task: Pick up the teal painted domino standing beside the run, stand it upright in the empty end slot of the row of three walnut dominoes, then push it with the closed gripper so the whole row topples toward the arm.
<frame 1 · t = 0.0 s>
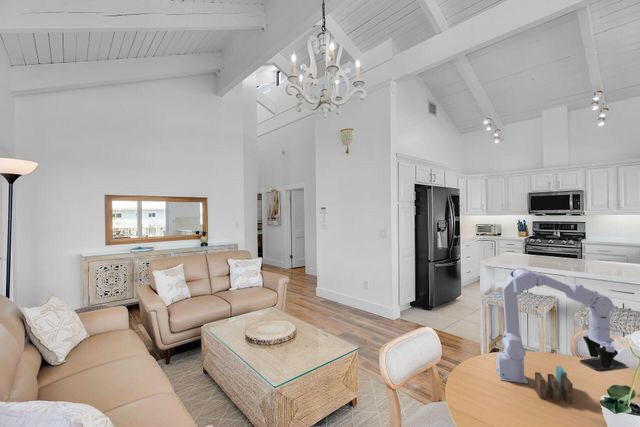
hand: (599, 361, 112), 10 cm above the table, tool pointing down, fingers open, 7 cm apart
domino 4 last: (540, 394, 110), on the table
phone: (602, 365, 128), on the table
domino 3: (553, 396, 109), on the table
domino 2: (566, 398, 108), on the table
domino teal placed: (561, 387, 114), on the table
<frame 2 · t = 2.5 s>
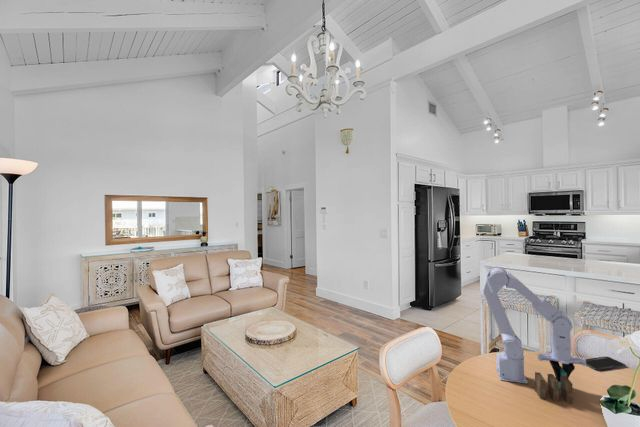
hand: (561, 380, 114), 3 cm above the table, tool pointing down, fingers closed on domino teal placed, 2 cm apart
domino teal placed: (561, 387, 114), on the table, touching gripper
everything else where it was.
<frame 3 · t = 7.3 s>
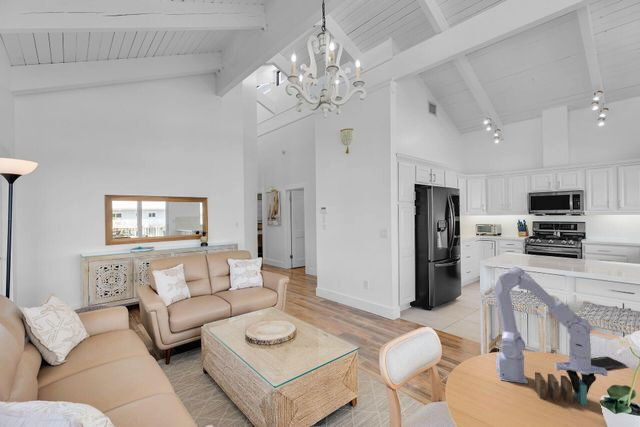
hand: (580, 391, 106), 3 cm above the table, tool pointing down, fingers closed
domino teal placed: (580, 400, 106), on the table
everything else where it was.
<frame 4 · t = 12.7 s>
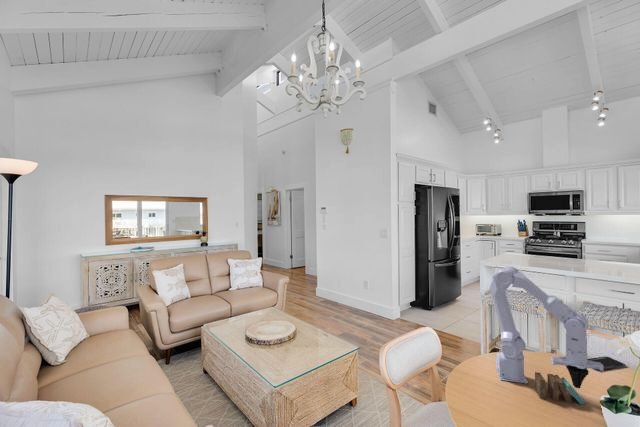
hand: (576, 386, 107), 5 cm above the table, tool pointing down, fingers closed
domino 3: (553, 396, 109), on the table, touching domino 2
domino 2: (566, 397, 108), on the table, tilted 21°, touching domino 3, domino teal placed
domino teal placed: (579, 399, 106), on the table, tilted 39°, touching domino 2
everything else where it was.
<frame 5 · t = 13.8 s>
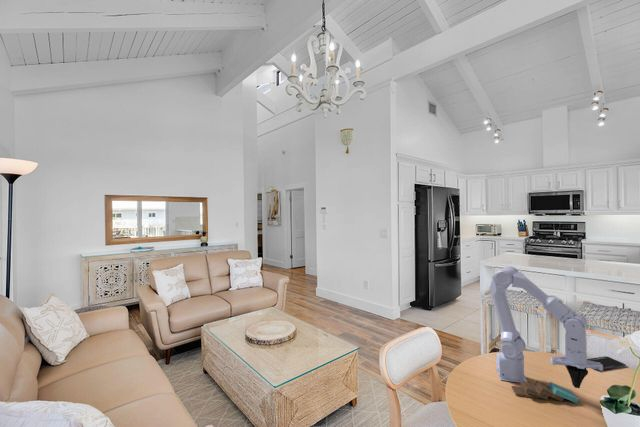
hand: (576, 386, 107), 5 cm above the table, tool pointing down, fingers closed
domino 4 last: (535, 394, 111), on the table, tilted 90°, touching domino 3
domino 3: (544, 393, 110), point 1 cm above the table, tilted 73°, touching domino 2, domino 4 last
domino 2: (559, 395, 108), point 1 cm above the table, tilted 69°, touching domino 3, domino teal placed
domino teal placed: (573, 397, 107), point 1 cm above the table, tilted 69°, touching domino 2
everything else where it was.
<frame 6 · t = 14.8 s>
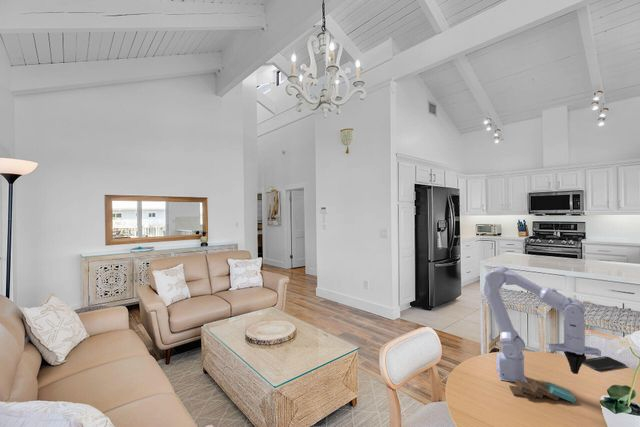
hand: (574, 372, 108), 9 cm above the table, tool pointing down, fingers closed
domino 3: (539, 392, 110), point 1 cm above the table, tilted 73°, touching domino 2, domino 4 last
domino 2: (555, 394, 109), point 1 cm above the table, tilted 66°, touching domino 3, domino teal placed
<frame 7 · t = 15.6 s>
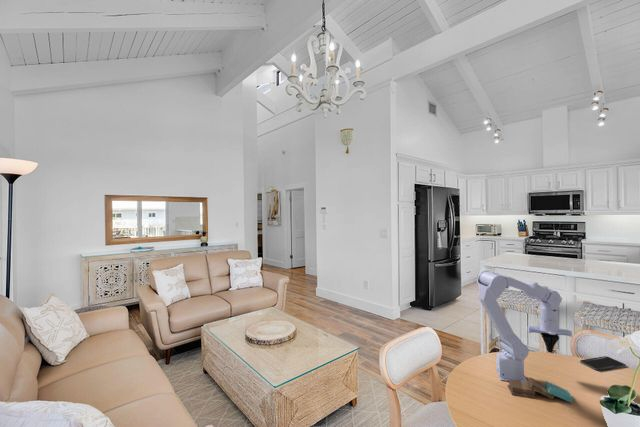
hand: (549, 351, 123), 9 cm above the table, tool pointing down, fingers closed
domino 3: (532, 388, 111), point 2 cm above the table, tilted 90°, touching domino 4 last
domino 2: (551, 393, 109), point 1 cm above the table, tilted 66°, touching domino teal placed
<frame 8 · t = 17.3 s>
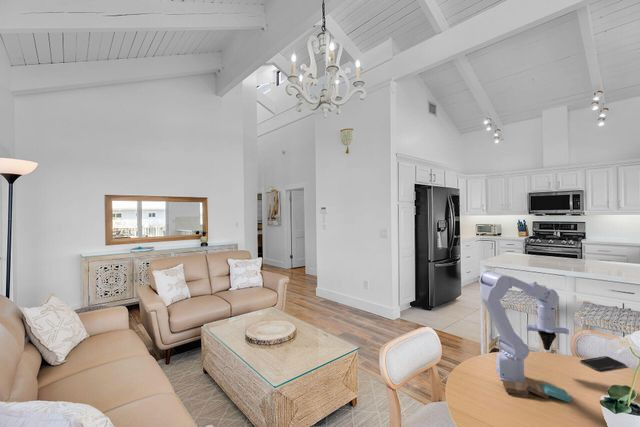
hand: (546, 349, 124), 9 cm above the table, tool pointing down, fingers closed
domino 3: (526, 389, 111), point 2 cm above the table, tilted 90°, touching domino 2, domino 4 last
domino 2: (545, 393, 110), point 1 cm above the table, tilted 68°, touching domino 3
domino teal placed: (567, 396, 108), point 1 cm above the table, tilted 75°
at the end: domino teal placed tilted 75°; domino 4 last tilted 90° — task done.
